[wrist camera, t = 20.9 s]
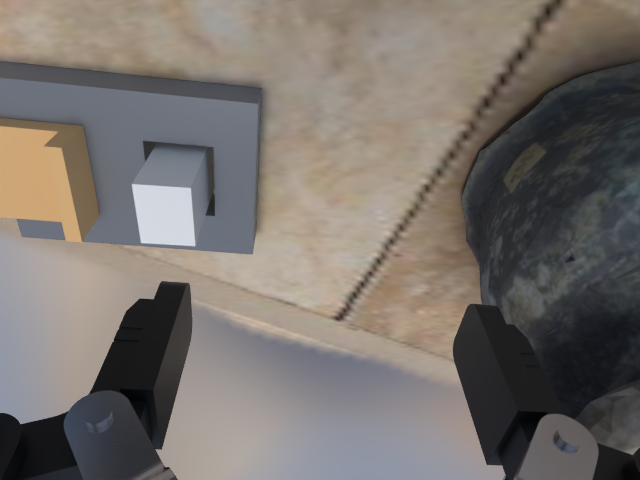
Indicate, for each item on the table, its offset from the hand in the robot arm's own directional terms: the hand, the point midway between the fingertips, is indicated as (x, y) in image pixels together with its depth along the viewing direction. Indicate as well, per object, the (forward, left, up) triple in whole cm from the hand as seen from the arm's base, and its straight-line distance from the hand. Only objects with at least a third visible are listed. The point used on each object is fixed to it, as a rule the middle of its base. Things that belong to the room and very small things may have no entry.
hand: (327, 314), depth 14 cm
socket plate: (+10, -14, -28) cm, 33 cm away
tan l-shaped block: (+10, -21, -24) cm, 34 cm away
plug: (+10, -10, -28) cm, 31 cm away
